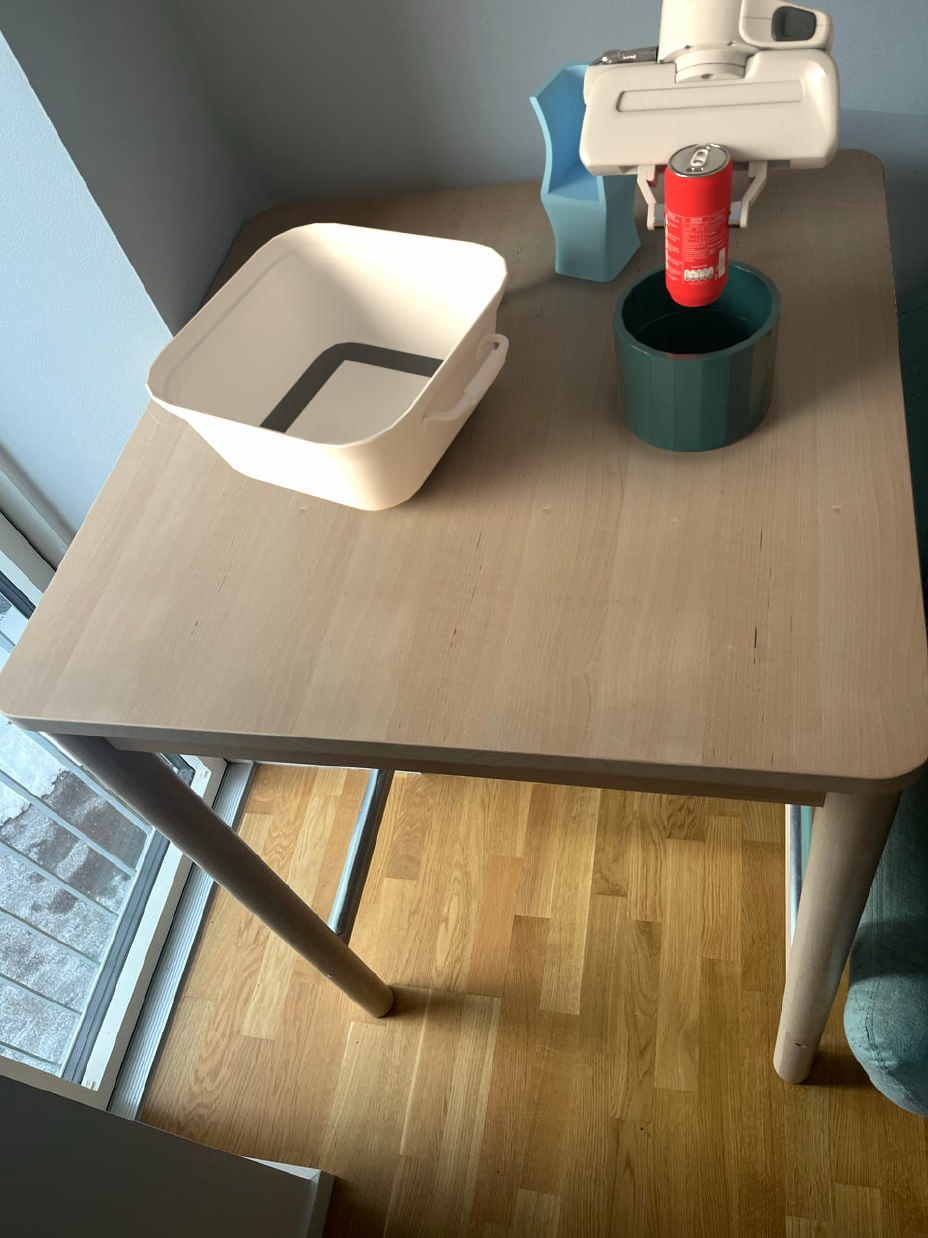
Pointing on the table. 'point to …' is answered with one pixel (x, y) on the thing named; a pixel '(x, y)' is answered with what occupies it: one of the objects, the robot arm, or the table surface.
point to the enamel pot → (696, 360)
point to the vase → (581, 186)
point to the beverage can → (697, 223)
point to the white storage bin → (340, 360)
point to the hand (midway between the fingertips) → (697, 227)
